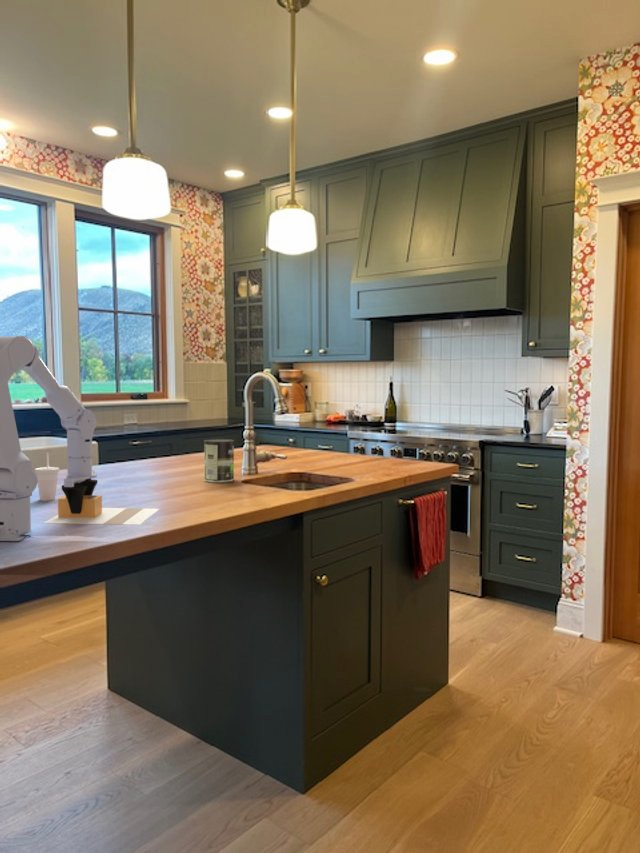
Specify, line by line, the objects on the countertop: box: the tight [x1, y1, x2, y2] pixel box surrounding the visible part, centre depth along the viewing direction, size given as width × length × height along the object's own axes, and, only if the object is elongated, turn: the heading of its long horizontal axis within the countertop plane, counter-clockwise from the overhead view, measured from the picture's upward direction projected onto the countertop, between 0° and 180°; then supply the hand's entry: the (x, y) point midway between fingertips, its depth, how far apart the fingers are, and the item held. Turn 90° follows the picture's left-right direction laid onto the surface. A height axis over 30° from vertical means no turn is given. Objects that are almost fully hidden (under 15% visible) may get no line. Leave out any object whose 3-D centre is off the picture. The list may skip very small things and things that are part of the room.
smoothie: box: [34, 452, 60, 502], centre depth 175 cm, size 6×6×14 cm
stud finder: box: [57, 494, 103, 518], centre depth 157 cm, size 5×9×5 cm, turn 90°
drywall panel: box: [42, 507, 160, 526], centre depth 157 cm, size 18×23×1 cm
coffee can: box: [203, 438, 235, 484], centre depth 218 cm, size 10×10×14 cm
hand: (80, 511), depth 157 cm, fingers closed on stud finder, 5 cm apart
